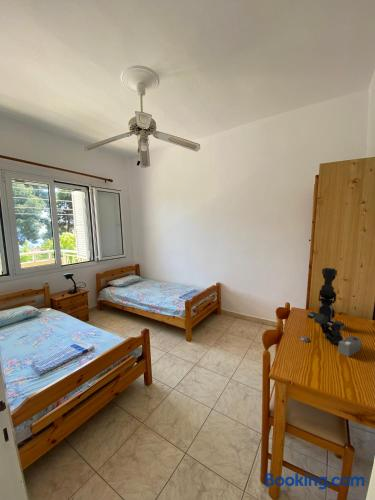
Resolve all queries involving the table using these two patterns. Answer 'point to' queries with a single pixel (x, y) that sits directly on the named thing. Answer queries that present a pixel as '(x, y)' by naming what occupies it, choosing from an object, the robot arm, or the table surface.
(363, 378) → the table surface
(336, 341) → the end cap
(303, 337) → the lens cap
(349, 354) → the camera body
